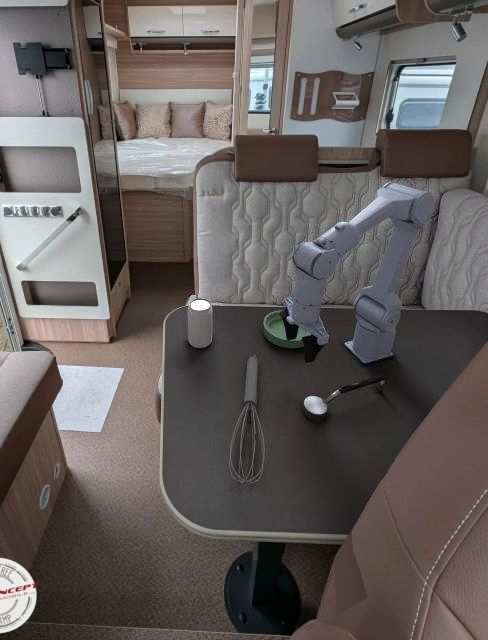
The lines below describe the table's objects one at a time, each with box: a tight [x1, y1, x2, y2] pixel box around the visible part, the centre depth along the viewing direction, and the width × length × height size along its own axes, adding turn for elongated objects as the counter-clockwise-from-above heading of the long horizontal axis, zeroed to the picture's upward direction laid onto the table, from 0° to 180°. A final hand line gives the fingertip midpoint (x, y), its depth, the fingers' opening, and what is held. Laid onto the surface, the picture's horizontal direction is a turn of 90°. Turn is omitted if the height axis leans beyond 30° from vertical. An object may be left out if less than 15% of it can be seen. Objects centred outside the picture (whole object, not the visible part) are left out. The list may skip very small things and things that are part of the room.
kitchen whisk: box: [229, 353, 266, 486], centre depth 76 cm, size 6×34×6 cm, turn 172°
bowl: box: [262, 309, 311, 349], centre depth 101 cm, size 14×14×3 cm
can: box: [187, 297, 213, 349], centre depth 95 cm, size 6×6×12 cm
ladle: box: [302, 374, 387, 422], centre depth 79 cm, size 20×5×5 cm, turn 110°
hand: (299, 349), depth 81 cm, fingers open, 7 cm apart
